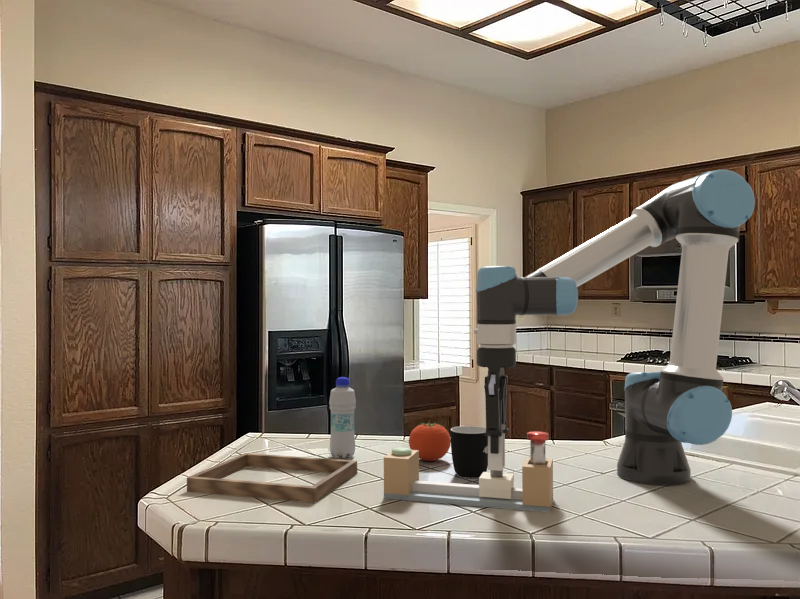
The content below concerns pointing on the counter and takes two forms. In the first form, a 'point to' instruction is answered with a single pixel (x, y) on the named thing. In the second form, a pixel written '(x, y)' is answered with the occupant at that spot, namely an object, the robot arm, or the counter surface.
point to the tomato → (430, 441)
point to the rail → (465, 485)
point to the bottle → (342, 419)
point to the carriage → (496, 482)
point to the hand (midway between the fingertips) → (496, 467)
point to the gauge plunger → (537, 447)
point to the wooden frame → (215, 485)
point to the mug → (469, 451)
